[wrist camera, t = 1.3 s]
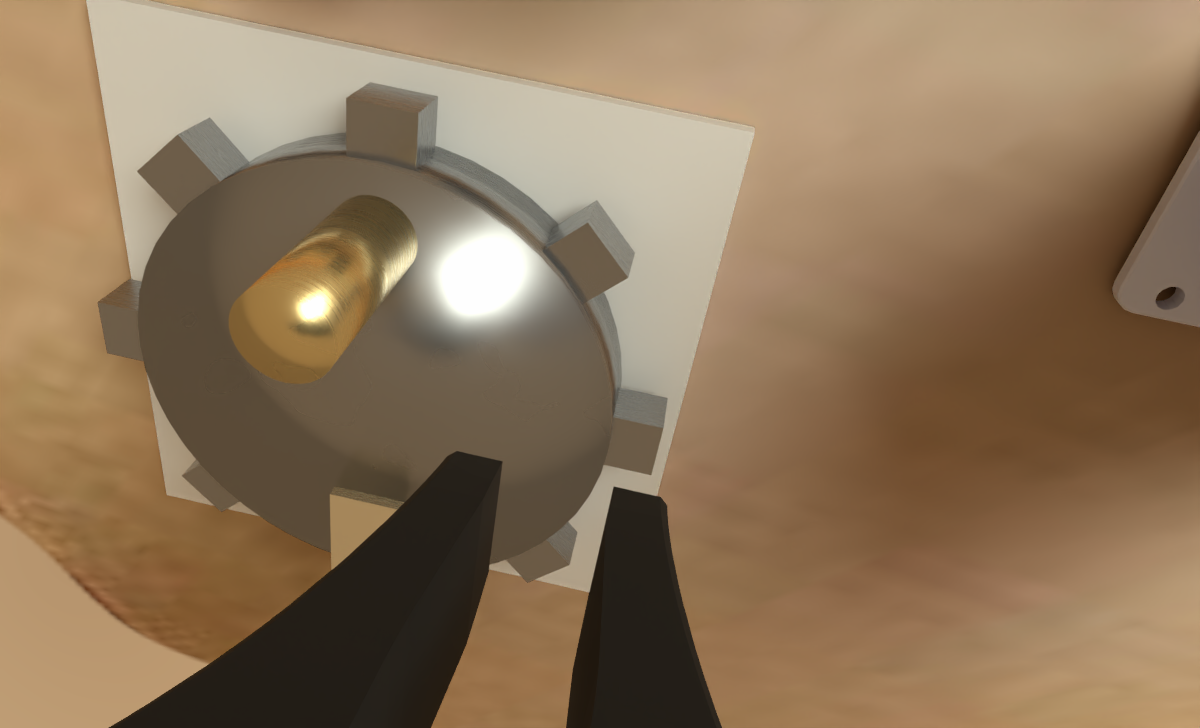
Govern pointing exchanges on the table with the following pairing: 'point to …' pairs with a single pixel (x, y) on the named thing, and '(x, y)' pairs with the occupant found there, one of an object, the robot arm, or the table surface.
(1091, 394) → the table surface
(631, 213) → the board
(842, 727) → the table surface
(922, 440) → the table surface
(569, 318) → the sprocket
